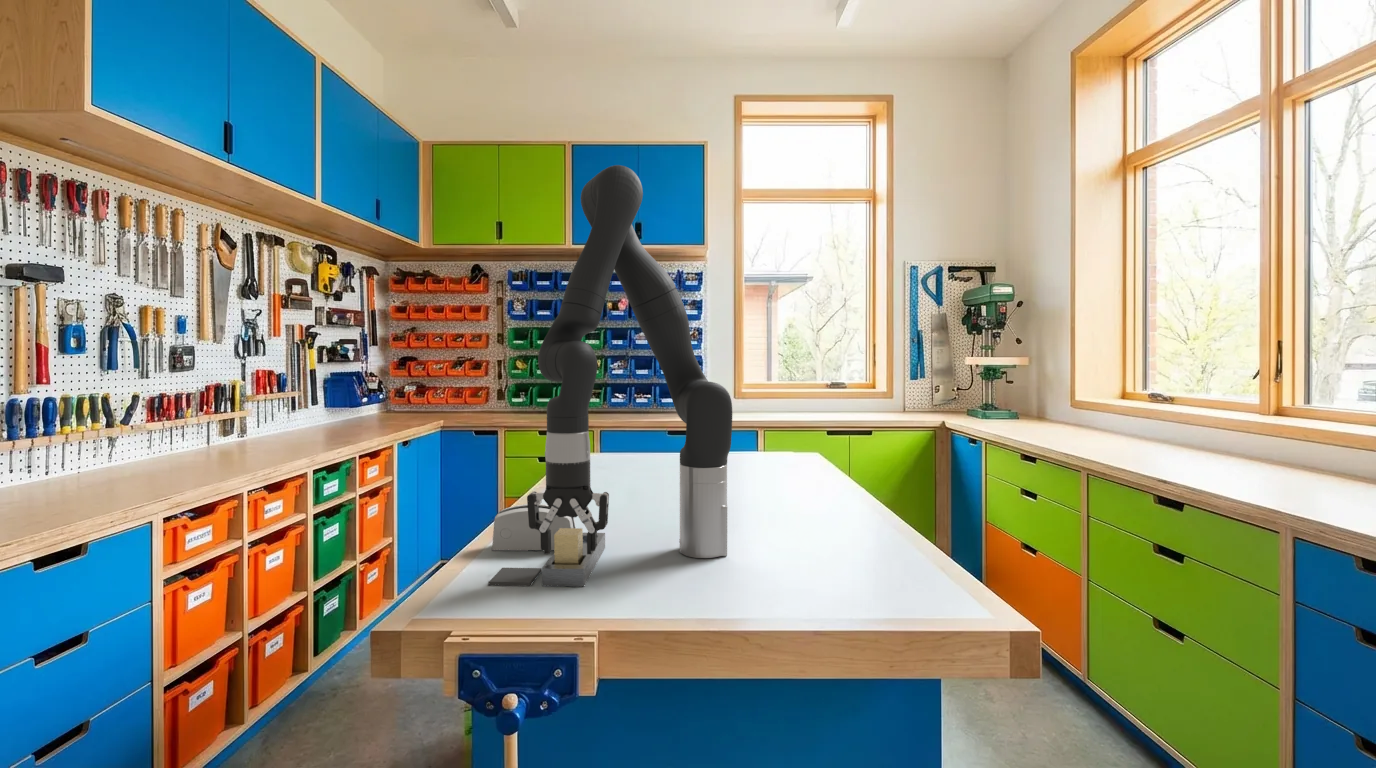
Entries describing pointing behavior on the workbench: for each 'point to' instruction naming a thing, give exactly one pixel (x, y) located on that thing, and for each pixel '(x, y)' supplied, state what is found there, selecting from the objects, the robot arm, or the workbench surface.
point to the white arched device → (523, 528)
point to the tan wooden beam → (568, 546)
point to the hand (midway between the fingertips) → (568, 552)
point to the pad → (515, 576)
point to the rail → (573, 567)
